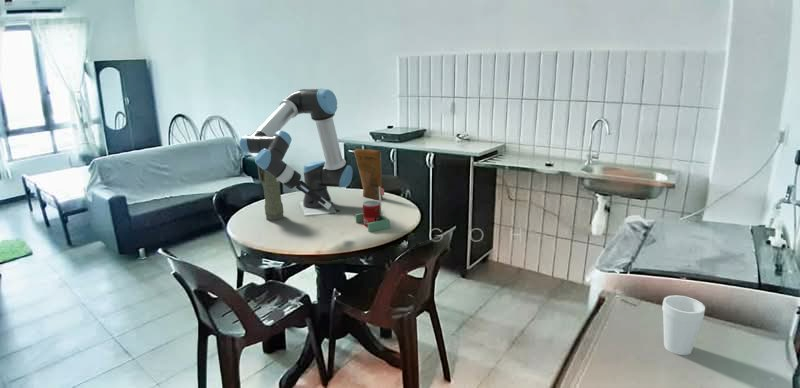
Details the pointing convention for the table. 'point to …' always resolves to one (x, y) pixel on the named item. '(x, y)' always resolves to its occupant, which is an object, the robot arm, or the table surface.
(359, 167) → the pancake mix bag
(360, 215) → the green c-shaped bracket
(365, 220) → the canned food
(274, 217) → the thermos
